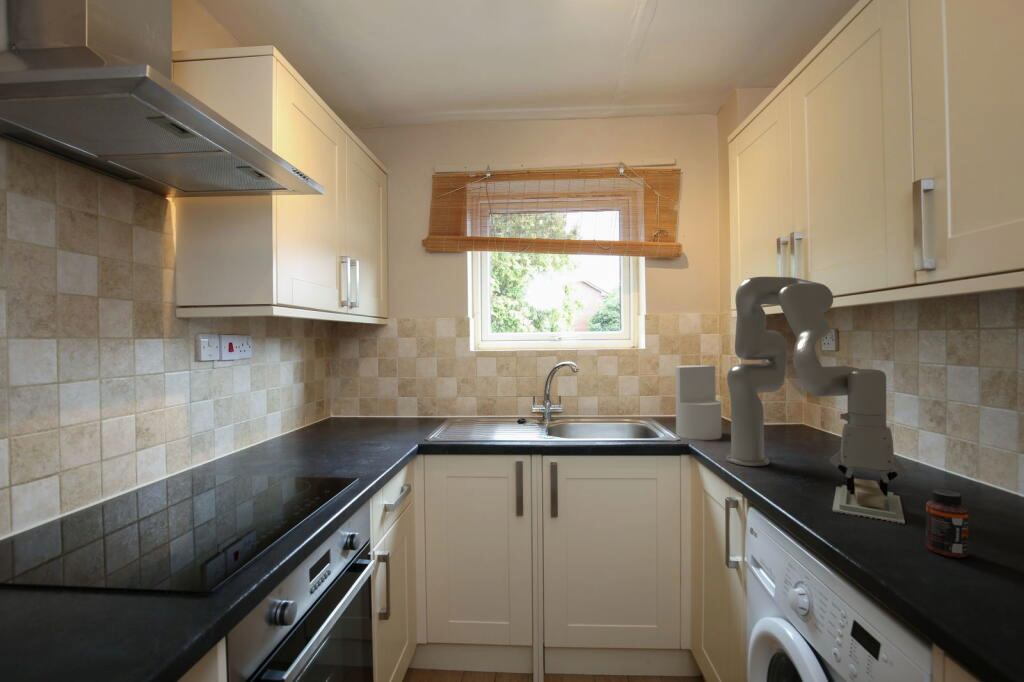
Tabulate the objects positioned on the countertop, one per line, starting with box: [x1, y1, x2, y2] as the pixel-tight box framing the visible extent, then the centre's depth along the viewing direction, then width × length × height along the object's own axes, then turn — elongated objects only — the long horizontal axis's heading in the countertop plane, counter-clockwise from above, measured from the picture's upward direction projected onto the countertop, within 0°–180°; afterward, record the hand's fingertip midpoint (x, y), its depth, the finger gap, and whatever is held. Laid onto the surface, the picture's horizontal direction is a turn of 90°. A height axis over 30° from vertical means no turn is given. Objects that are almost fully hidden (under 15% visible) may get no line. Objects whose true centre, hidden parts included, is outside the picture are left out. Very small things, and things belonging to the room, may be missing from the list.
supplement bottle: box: [925, 489, 969, 559], centre depth 90 cm, size 6×6×11 cm
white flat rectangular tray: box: [832, 484, 906, 525], centre depth 115 cm, size 20×13×2 cm, turn 143°
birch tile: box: [853, 477, 884, 508], centre depth 115 cm, size 5×12×3 cm, turn 150°
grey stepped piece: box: [675, 364, 722, 441], centre depth 194 cm, size 17×17×28 cm
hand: (866, 494), depth 115 cm, fingers closed on birch tile, 5 cm apart
